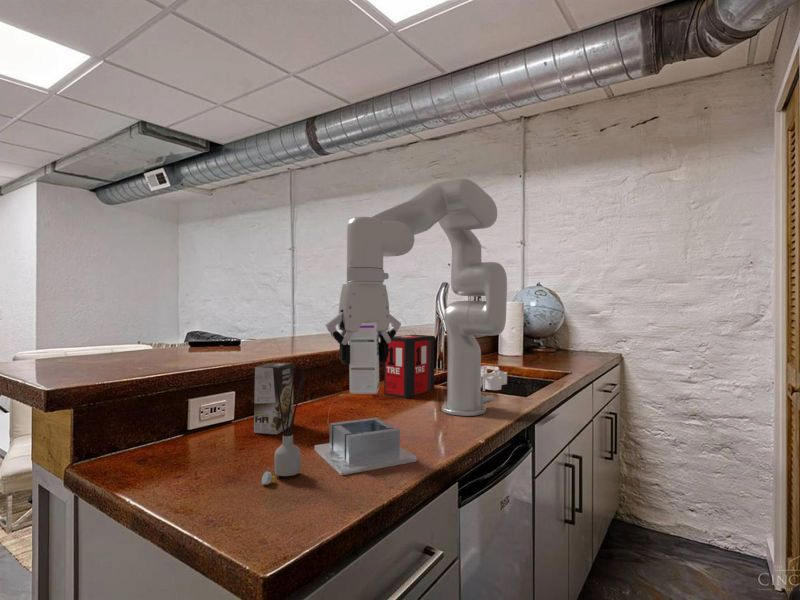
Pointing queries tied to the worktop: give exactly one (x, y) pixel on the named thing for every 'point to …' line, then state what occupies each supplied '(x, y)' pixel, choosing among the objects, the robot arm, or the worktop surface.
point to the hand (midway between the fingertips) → (364, 362)
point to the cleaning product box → (409, 366)
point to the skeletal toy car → (493, 378)
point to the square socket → (363, 446)
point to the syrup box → (364, 359)
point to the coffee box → (272, 397)
